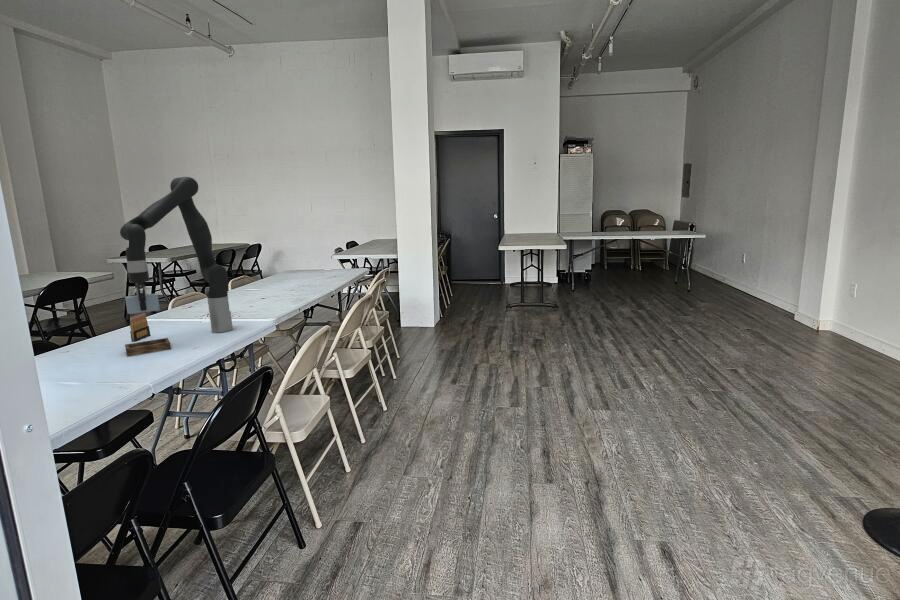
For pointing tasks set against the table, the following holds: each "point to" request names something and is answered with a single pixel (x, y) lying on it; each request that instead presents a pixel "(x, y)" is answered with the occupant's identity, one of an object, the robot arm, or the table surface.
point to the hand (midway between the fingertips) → (143, 309)
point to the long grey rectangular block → (134, 303)
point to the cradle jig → (147, 347)
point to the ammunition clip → (139, 328)
